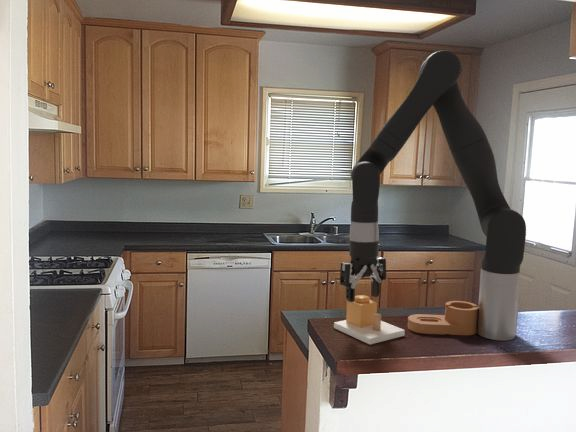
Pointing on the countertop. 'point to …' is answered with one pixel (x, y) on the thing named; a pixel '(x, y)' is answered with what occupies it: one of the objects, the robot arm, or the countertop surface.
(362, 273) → the robot arm
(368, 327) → the plate
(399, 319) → the countertop surface
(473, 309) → the bracket
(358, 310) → the cube with dome top
